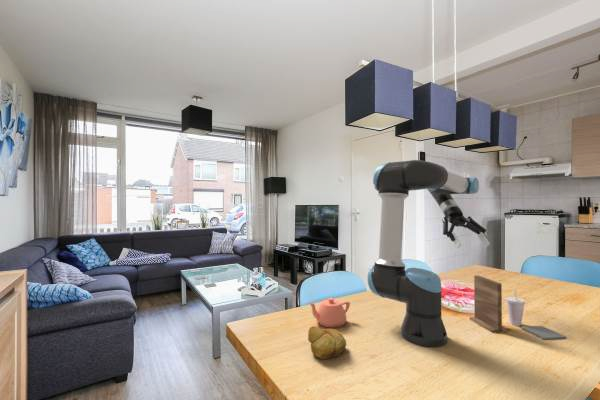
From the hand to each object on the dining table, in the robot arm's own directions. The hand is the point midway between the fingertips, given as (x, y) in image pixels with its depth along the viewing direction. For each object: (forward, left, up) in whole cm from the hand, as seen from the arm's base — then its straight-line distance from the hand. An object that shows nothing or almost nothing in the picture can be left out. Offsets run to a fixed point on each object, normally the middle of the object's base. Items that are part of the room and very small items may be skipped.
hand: (473, 246), depth 126 cm
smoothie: (+7, -14, -29) cm, 33 cm away
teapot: (-66, -4, -29) cm, 72 cm away
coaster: (+10, -22, -29) cm, 38 cm away
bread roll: (-71, -26, -29) cm, 81 cm away
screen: (-5, -14, -29) cm, 32 cm away
